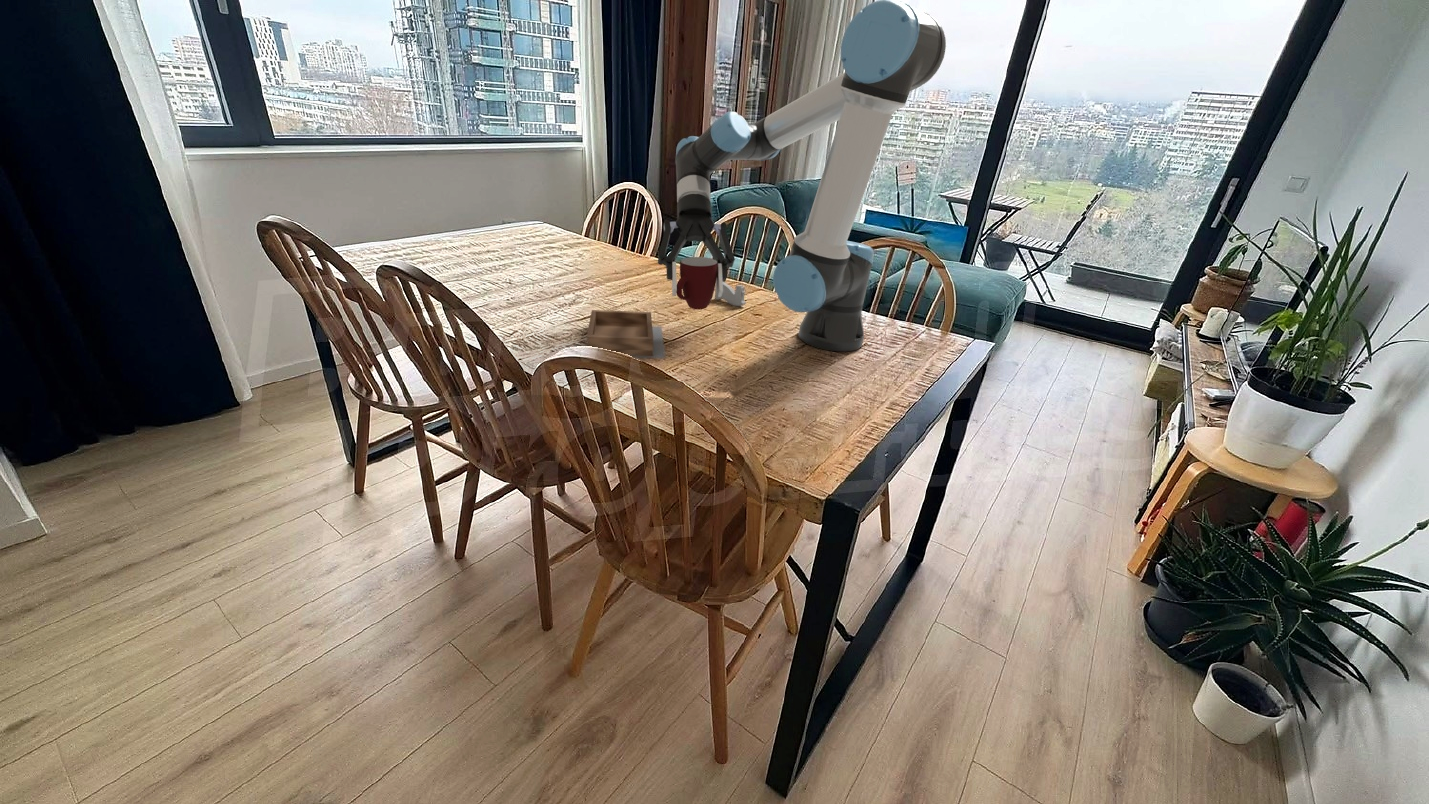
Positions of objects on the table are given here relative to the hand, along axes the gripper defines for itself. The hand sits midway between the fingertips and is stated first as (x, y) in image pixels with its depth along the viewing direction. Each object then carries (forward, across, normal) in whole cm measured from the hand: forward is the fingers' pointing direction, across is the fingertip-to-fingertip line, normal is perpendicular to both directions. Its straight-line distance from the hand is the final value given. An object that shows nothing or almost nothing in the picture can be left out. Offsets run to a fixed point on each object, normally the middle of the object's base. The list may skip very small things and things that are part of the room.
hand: (697, 293), depth 120 cm
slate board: (+9, +15, -8) cm, 19 cm away
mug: (+1, 0, -6) cm, 6 cm away
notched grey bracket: (-13, -13, -30) cm, 35 cm away
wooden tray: (+8, +16, -7) cm, 19 cm away
